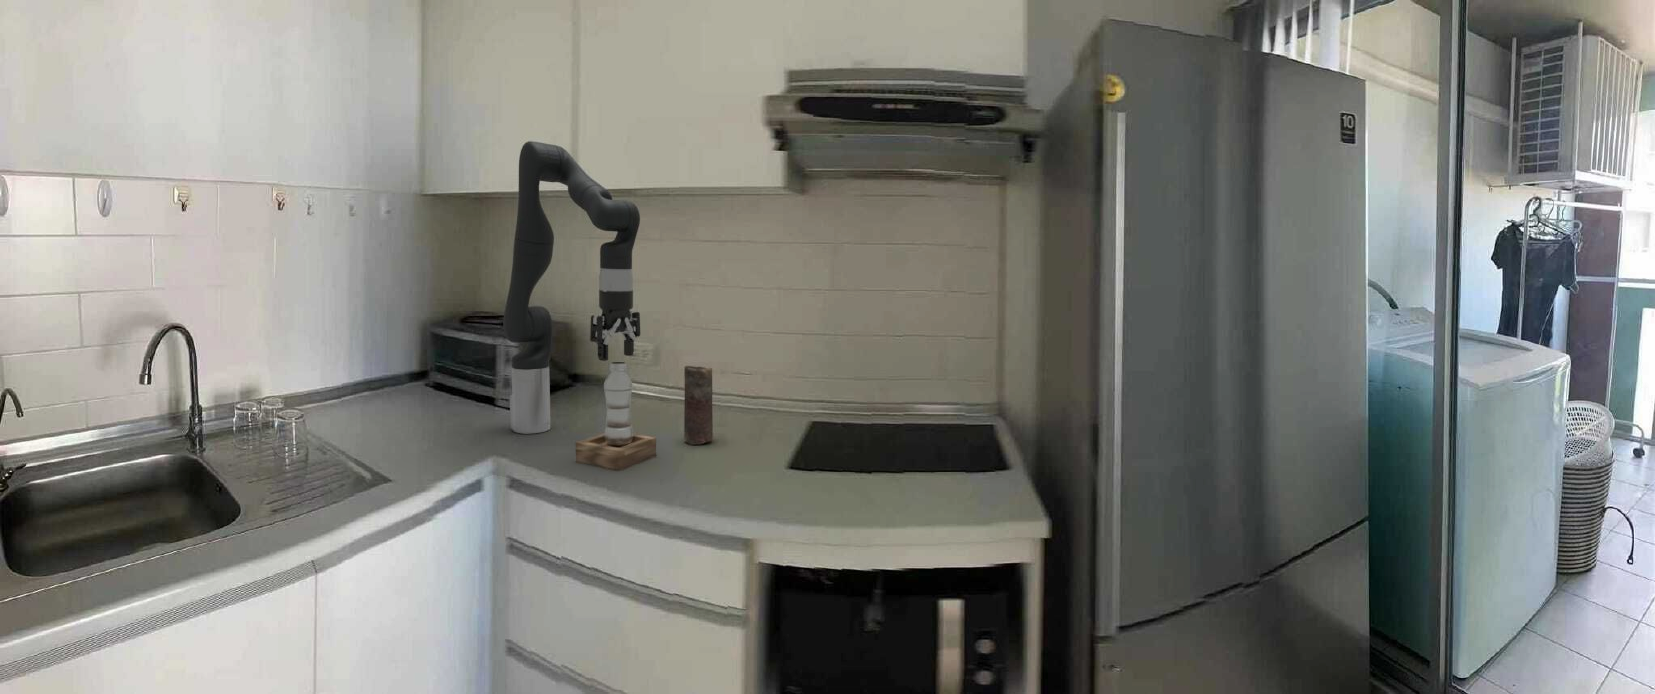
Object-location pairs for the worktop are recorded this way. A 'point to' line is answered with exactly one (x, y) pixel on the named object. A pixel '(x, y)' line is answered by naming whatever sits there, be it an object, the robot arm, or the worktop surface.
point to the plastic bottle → (618, 406)
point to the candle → (698, 405)
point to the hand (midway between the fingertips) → (616, 357)
